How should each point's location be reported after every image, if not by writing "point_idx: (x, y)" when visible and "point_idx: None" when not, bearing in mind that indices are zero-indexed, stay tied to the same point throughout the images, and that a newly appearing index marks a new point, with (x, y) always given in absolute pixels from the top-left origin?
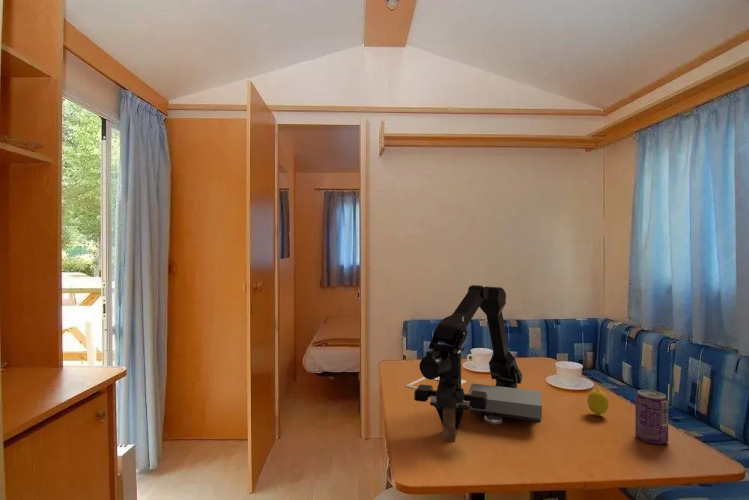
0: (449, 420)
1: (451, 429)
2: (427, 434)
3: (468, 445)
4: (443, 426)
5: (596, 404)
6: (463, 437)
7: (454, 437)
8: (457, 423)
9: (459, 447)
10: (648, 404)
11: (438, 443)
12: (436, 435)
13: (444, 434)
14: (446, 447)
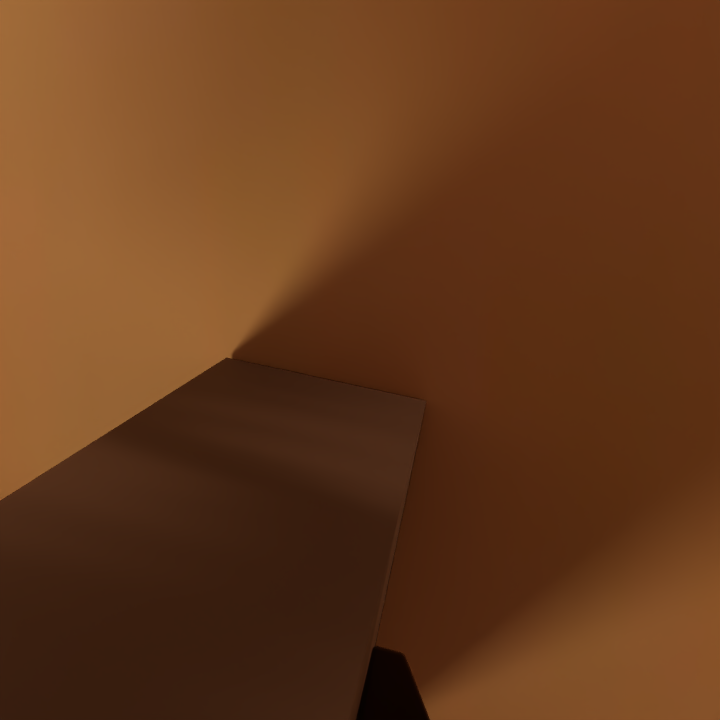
0: (123, 571)
1: (189, 436)
2: (716, 580)
3: (6, 264)
4: (383, 510)
5: None
6: None
7: (198, 382)
8: None
9: (138, 165)
10: None
11: (513, 255)
12: (542, 555)
13: (385, 428)
14: (363, 119)
